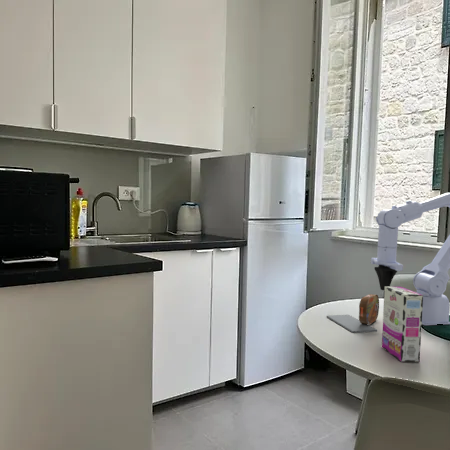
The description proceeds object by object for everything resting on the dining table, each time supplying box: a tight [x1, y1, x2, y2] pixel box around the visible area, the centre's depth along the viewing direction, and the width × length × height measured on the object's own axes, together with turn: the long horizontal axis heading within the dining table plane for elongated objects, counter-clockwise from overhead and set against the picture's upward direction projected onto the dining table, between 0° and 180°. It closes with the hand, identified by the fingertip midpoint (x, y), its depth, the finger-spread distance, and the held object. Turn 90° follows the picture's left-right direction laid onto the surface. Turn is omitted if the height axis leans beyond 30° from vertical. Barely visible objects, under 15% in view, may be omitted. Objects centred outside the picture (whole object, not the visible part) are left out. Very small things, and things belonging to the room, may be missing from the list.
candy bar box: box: [381, 285, 423, 363], centre depth 109 cm, size 11×5×16 cm, turn 5°
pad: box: [326, 314, 378, 334], centre depth 136 cm, size 8×17×1 cm, turn 13°
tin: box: [358, 293, 380, 326], centre depth 138 cm, size 15×3×8 cm, turn 147°
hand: (384, 289), depth 138 cm, fingers closed
